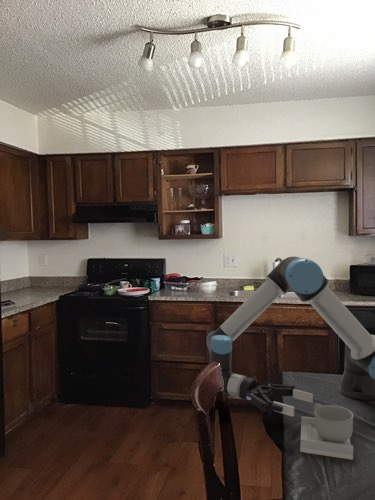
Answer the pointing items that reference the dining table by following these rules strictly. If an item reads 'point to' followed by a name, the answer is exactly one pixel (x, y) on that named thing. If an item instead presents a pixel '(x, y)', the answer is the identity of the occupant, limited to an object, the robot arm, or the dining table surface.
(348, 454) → the drying rack
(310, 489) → the dining table surface
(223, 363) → the robot arm
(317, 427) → the teacup
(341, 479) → the dining table surface
